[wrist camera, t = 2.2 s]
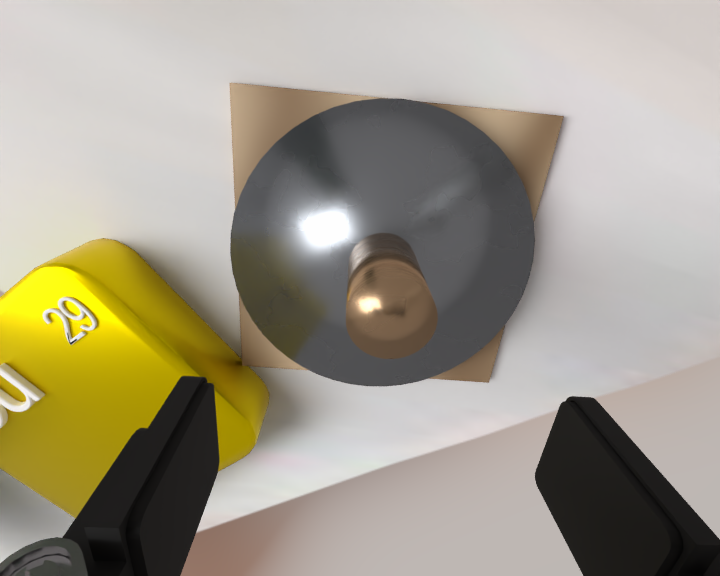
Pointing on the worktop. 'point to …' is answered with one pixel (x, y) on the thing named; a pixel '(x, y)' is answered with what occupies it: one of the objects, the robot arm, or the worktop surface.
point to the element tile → (105, 369)
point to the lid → (382, 242)
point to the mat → (292, 106)
